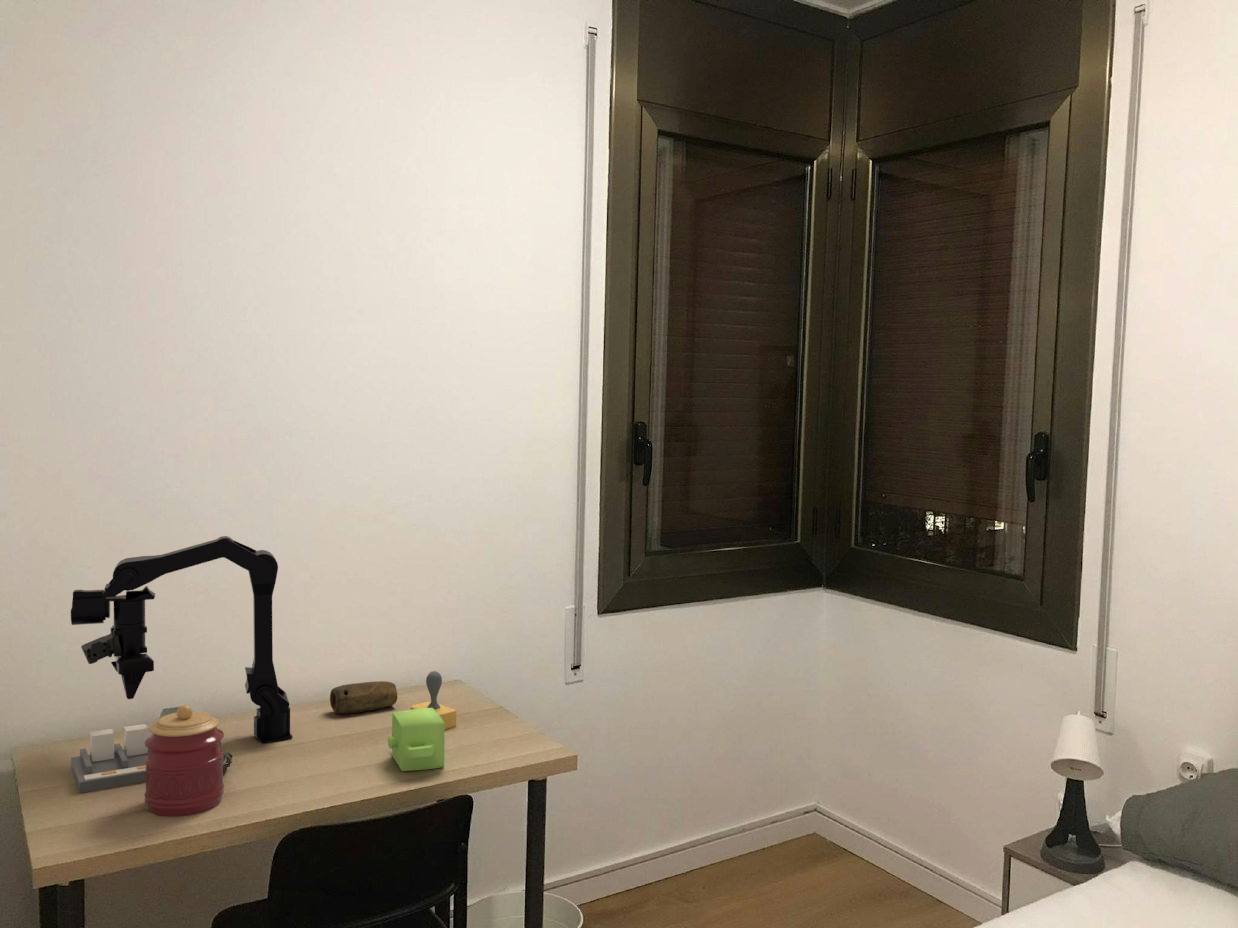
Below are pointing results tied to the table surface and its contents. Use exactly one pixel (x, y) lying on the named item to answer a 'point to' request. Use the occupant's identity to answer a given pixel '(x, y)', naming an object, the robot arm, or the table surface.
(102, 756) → the tab
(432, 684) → the rubber stamp
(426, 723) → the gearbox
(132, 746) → the tab
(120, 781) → the switch panel
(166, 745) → the canister
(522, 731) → the table surface
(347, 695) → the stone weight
